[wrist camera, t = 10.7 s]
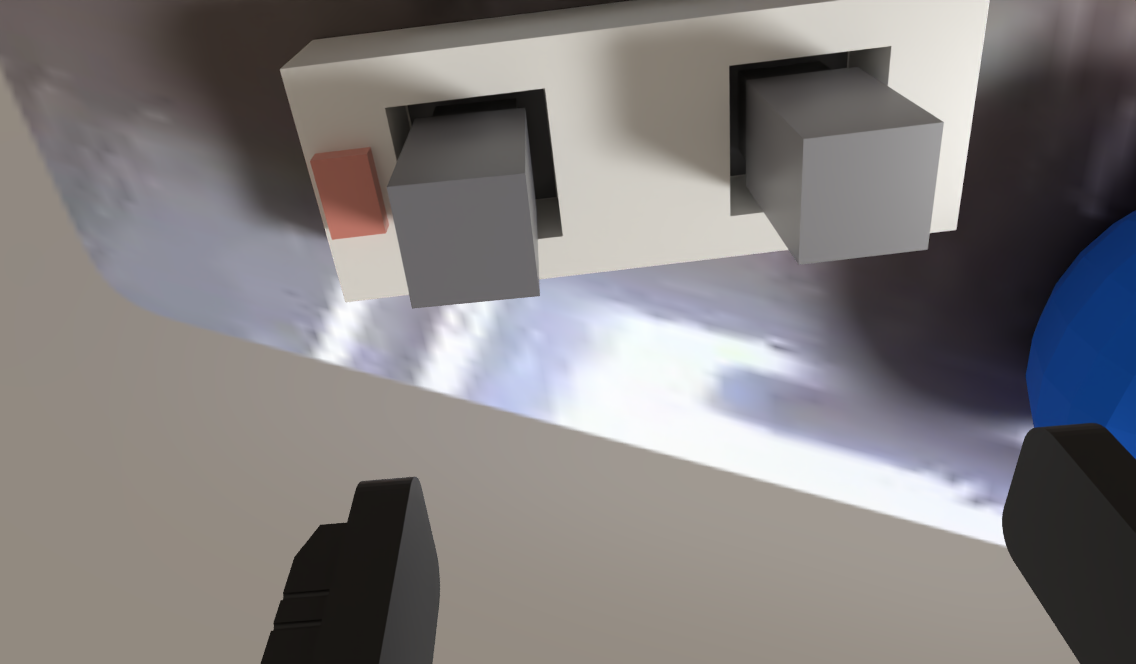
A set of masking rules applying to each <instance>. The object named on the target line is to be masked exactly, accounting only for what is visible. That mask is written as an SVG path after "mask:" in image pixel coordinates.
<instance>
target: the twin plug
mask: <svg viewBox="0 0 1136 664" xmlns="http://www.w3.org/2000/svg"><path fill="white" fill-rule="evenodd" d="M738 123H739V151H740V152H741V154H742V155H743V157H744V158H745V159H746V187H747V188H748V190H749V191H750V193H751V194H752V196H753V197H754V199H755V200H756V202H757V203H758V205H759V206H760V208H761V209H762V211H763V212H764V214H765V215H766V217H767V218H768V220H769V221H770V223H771V224H772V226H773V227H774V229H775V230H776V232H777V233H778V235H779V236H780V238H781V239H782V241H783V242H784V244H785V245H786V247H787V248H788V250H789V251H790V253H791V254H792V256H793V257H794V259H795V260H796V262H797V263H798V265H801V264H810V263H818V262H827V261H835V260H844V259H852V258H861V257H869V256H878V255H886V254H894V253H903V252H911V251H920V250H928V243H929V235H930V227H931V219H932V212H933V204H934V196H935V188H936V180H937V172H938V165H939V157H940V149H941V141H942V133H943V125H944V122H943V121H941V120H940V119H938V118H937V117H935V116H934V115H932V114H930V113H929V112H927V111H926V110H924V109H923V108H921V107H920V106H918V105H916V104H915V103H913V102H912V101H910V100H909V99H907V98H905V97H904V96H902V95H901V94H899V93H898V92H896V91H895V90H893V89H891V88H890V87H888V86H887V85H885V84H884V83H882V82H881V81H879V80H877V79H876V78H874V77H873V76H871V75H870V74H868V73H867V72H865V71H863V70H862V69H860V68H859V67H850V68H842V69H834V70H832V69H830V68H829V67H827V66H826V65H825V64H823V63H822V62H820V61H816V62H808V63H799V64H791V65H783V66H775V67H767V68H758V69H750V70H742V71H738Z"/></svg>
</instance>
